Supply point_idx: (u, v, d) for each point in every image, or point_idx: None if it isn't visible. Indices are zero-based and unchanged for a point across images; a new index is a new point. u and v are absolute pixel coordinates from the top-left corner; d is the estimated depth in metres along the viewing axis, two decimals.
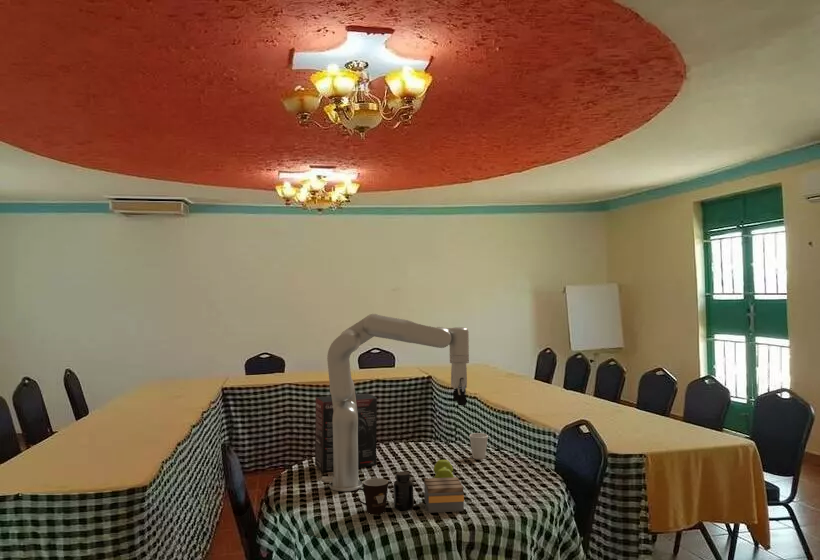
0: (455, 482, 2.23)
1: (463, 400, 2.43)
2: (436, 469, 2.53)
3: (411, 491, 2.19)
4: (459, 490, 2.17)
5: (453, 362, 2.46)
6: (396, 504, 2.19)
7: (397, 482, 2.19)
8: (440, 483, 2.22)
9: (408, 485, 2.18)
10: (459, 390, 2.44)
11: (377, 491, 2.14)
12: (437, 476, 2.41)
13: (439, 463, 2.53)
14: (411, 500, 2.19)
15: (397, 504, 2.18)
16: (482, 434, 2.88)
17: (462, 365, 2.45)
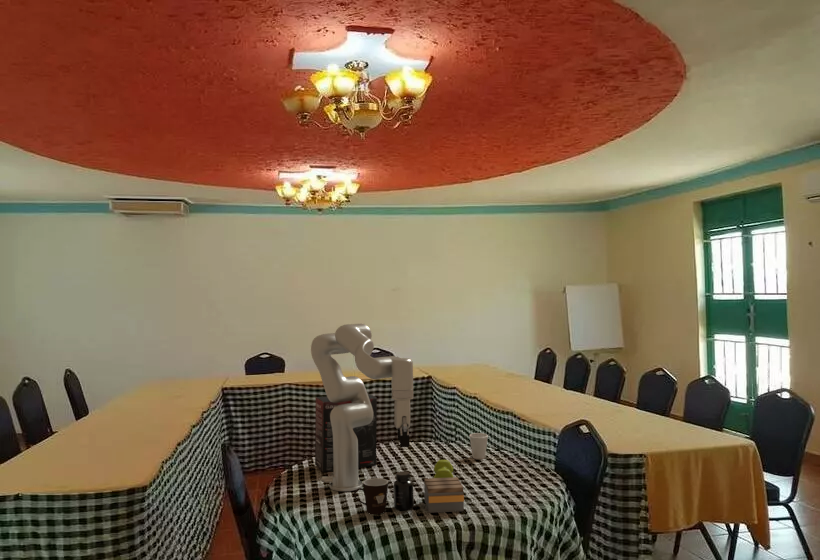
0: (455, 482, 2.23)
1: (406, 441, 2.15)
2: (436, 469, 2.53)
3: (411, 491, 2.19)
4: (459, 490, 2.17)
5: (395, 398, 2.19)
6: (396, 504, 2.19)
7: (397, 482, 2.19)
8: (440, 483, 2.22)
9: (408, 485, 2.18)
10: (401, 430, 2.16)
11: (377, 491, 2.14)
12: (436, 476, 2.41)
13: (439, 463, 2.53)
14: (411, 500, 2.19)
15: (397, 504, 2.18)
16: (482, 434, 2.88)
17: (405, 402, 2.17)
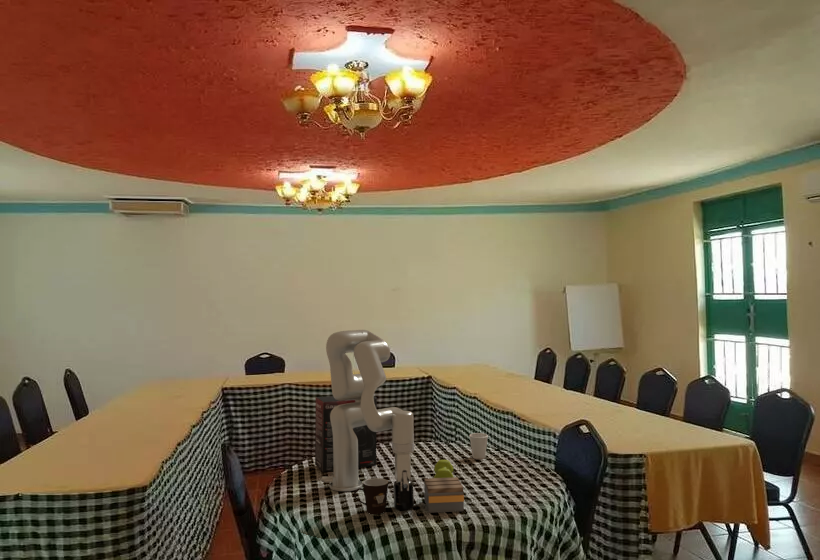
0: (455, 482, 2.23)
1: (406, 497, 2.16)
2: (436, 469, 2.53)
3: (411, 491, 2.19)
4: (459, 490, 2.17)
5: (395, 452, 2.18)
6: (396, 504, 2.19)
7: None
8: (440, 483, 2.22)
9: None
10: (401, 486, 2.16)
11: (377, 491, 2.14)
12: (437, 476, 2.41)
13: (439, 463, 2.53)
14: (411, 500, 2.19)
15: (397, 504, 2.18)
16: (482, 434, 2.88)
17: (405, 456, 2.17)
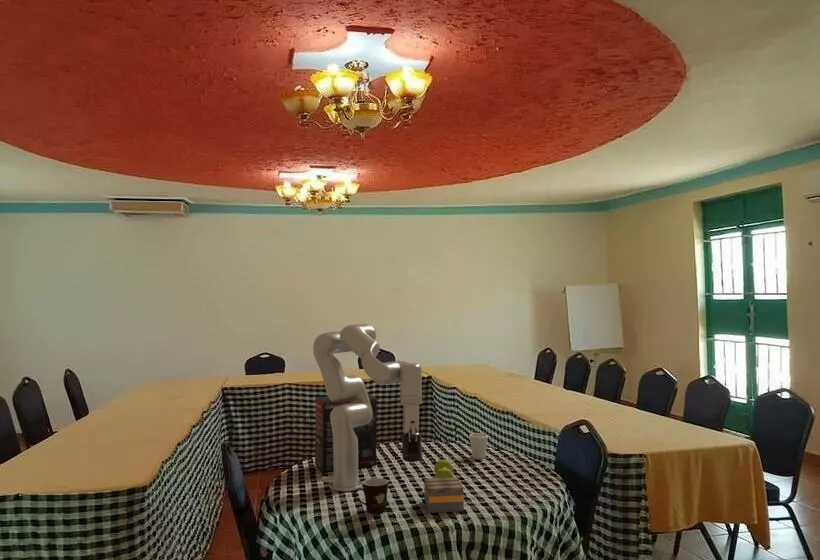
0: (455, 482, 2.23)
1: (414, 448, 2.17)
2: (436, 469, 2.53)
3: (419, 442, 2.19)
4: (459, 490, 2.17)
5: (403, 403, 2.19)
6: (404, 455, 2.19)
7: (405, 434, 2.20)
8: (440, 483, 2.22)
9: None
10: (409, 437, 2.17)
11: (377, 491, 2.14)
12: (437, 476, 2.41)
13: (439, 463, 2.53)
14: (419, 451, 2.19)
15: (405, 455, 2.19)
16: (482, 434, 2.88)
17: (413, 407, 2.17)
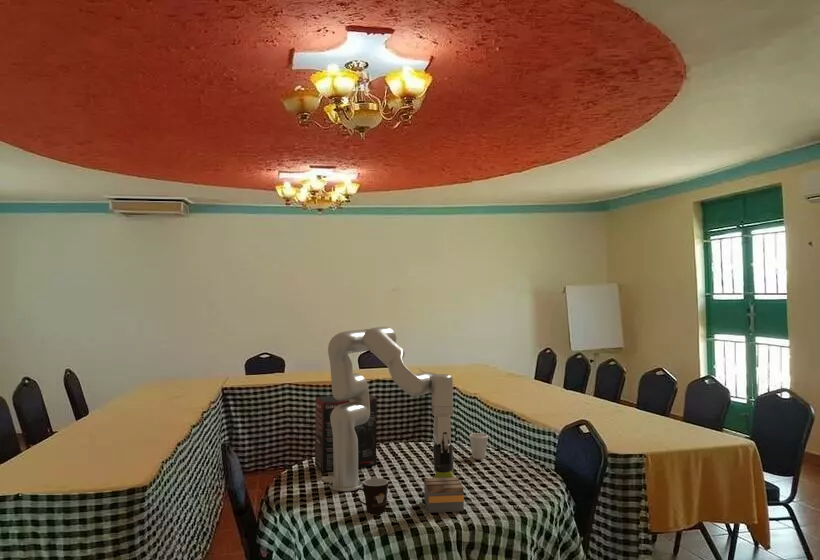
0: (455, 482, 2.23)
1: (446, 459, 2.18)
2: None
3: (451, 453, 2.21)
4: (459, 490, 2.17)
5: (435, 414, 2.20)
6: (436, 466, 2.20)
7: None
8: (440, 483, 2.22)
9: None
10: (442, 448, 2.18)
11: (377, 491, 2.14)
12: (437, 476, 2.41)
13: None
14: (451, 462, 2.20)
15: (437, 466, 2.20)
16: (482, 434, 2.88)
17: (445, 418, 2.18)
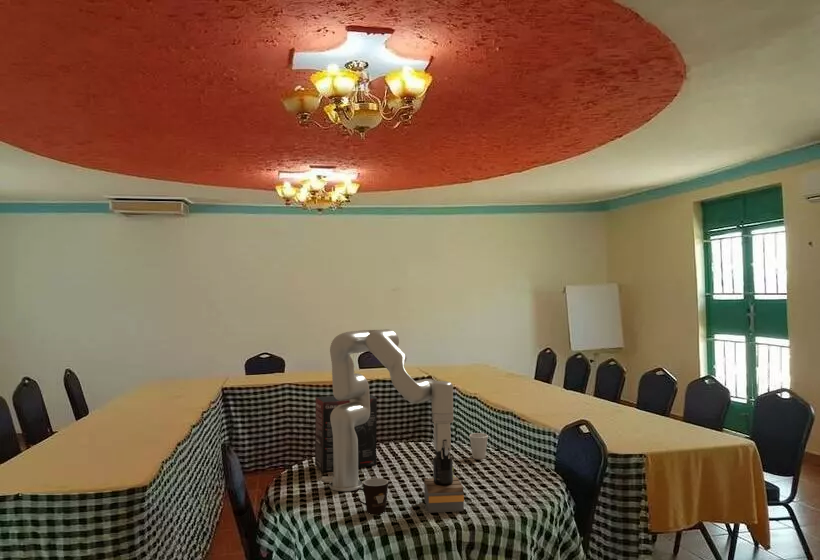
0: (455, 482, 2.23)
1: (446, 465, 2.17)
2: None
3: (451, 466, 2.20)
4: (459, 490, 2.17)
5: (435, 421, 2.20)
6: (436, 479, 2.20)
7: (437, 457, 2.21)
8: None
9: None
10: (442, 453, 2.17)
11: (377, 491, 2.14)
12: None
13: None
14: (451, 475, 2.20)
15: (437, 479, 2.20)
16: (482, 434, 2.88)
17: (445, 425, 2.18)
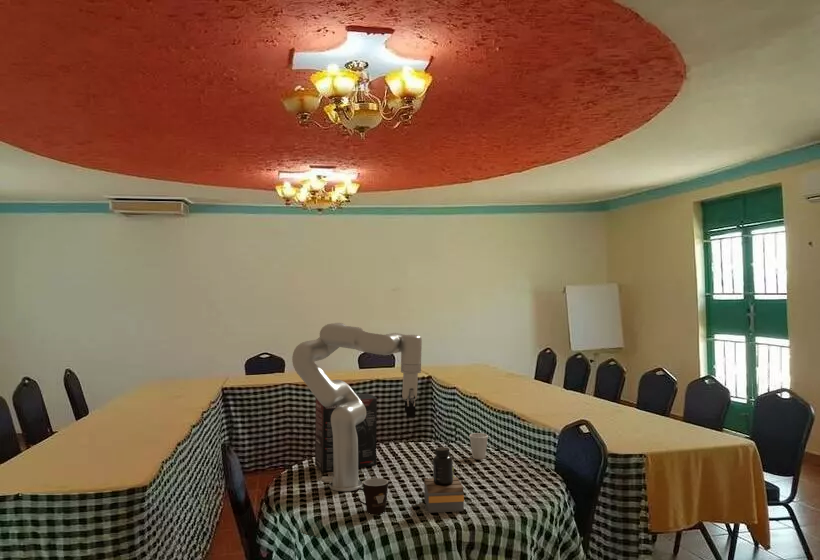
0: (455, 482, 2.23)
1: (412, 412, 2.30)
2: None
3: (451, 466, 2.20)
4: (459, 490, 2.17)
5: (403, 371, 2.33)
6: (436, 479, 2.20)
7: (437, 457, 2.21)
8: None
9: (448, 460, 2.19)
10: (408, 401, 2.31)
11: (377, 491, 2.14)
12: None
13: None
14: (451, 475, 2.20)
15: (437, 479, 2.20)
16: (482, 434, 2.88)
17: (412, 375, 2.32)
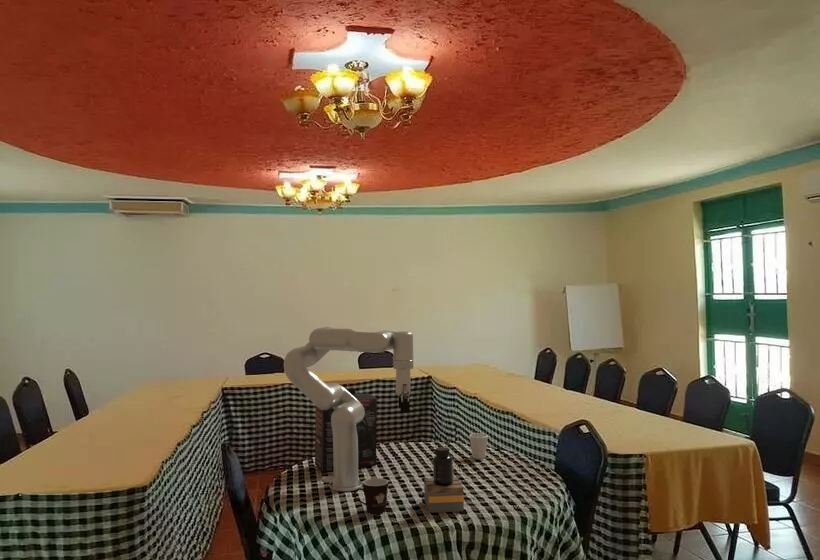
0: (455, 482, 2.23)
1: (406, 407, 2.34)
2: None
3: (451, 466, 2.20)
4: (459, 490, 2.17)
5: (396, 368, 2.37)
6: (436, 479, 2.20)
7: (437, 457, 2.21)
8: None
9: (448, 460, 2.19)
10: (402, 397, 2.34)
11: (377, 491, 2.14)
12: None
13: None
14: (451, 475, 2.20)
15: (437, 479, 2.20)
16: (482, 434, 2.88)
17: (405, 371, 2.35)
